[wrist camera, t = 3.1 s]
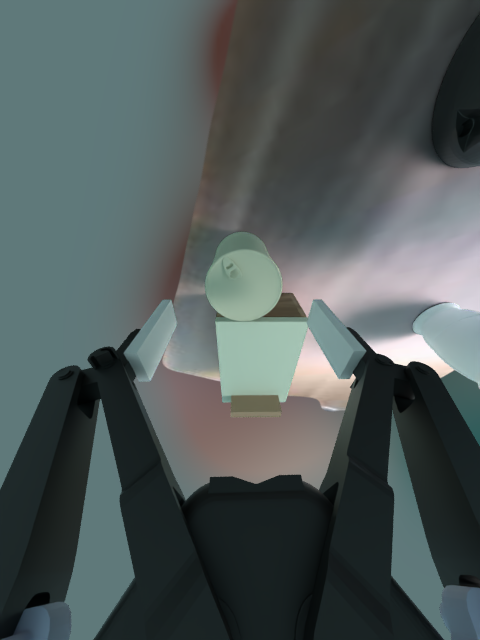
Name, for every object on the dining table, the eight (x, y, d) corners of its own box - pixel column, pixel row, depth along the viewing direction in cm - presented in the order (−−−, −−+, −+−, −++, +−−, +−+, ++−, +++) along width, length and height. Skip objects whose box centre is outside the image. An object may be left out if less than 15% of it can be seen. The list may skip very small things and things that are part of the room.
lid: (215, 317, 26) (212, 337, 22) (307, 317, 26) (319, 337, 22) (222, 397, 39) (221, 418, 35) (284, 396, 39) (289, 418, 35)
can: (252, 219, 26) (262, 230, 16) (276, 270, 30) (295, 304, 21) (204, 251, 28) (186, 278, 19) (233, 294, 33) (231, 334, 23)
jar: (400, 340, 41) (470, 401, 28) (414, 303, 35) (511, 360, 22) (450, 331, 39) (547, 391, 27) (474, 292, 33) (612, 345, 21)
